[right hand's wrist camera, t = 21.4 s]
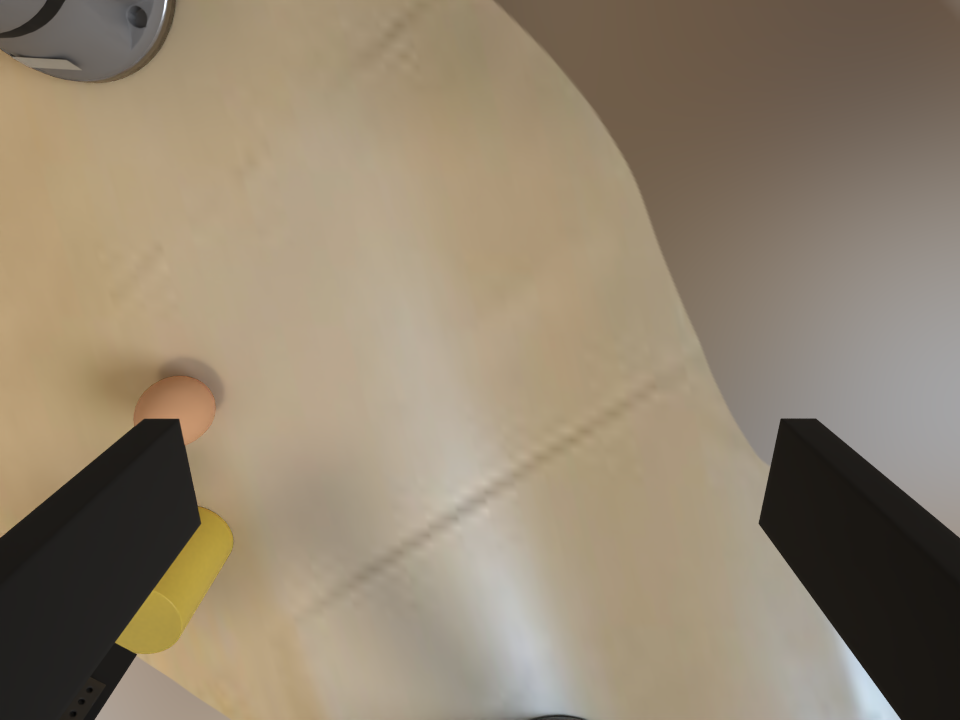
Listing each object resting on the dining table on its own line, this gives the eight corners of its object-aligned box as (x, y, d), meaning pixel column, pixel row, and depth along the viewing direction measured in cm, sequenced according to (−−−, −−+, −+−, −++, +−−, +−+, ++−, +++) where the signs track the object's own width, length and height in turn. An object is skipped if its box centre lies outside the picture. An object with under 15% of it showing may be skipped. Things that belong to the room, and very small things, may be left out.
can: (240, 564, 61) (191, 652, 51) (168, 569, 62) (104, 656, 51) (223, 502, 59) (168, 581, 48) (147, 507, 59) (76, 586, 48)
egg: (203, 354, 53) (158, 389, 45) (240, 407, 54) (203, 449, 47) (150, 380, 53) (97, 418, 46) (188, 431, 55) (143, 476, 48)
